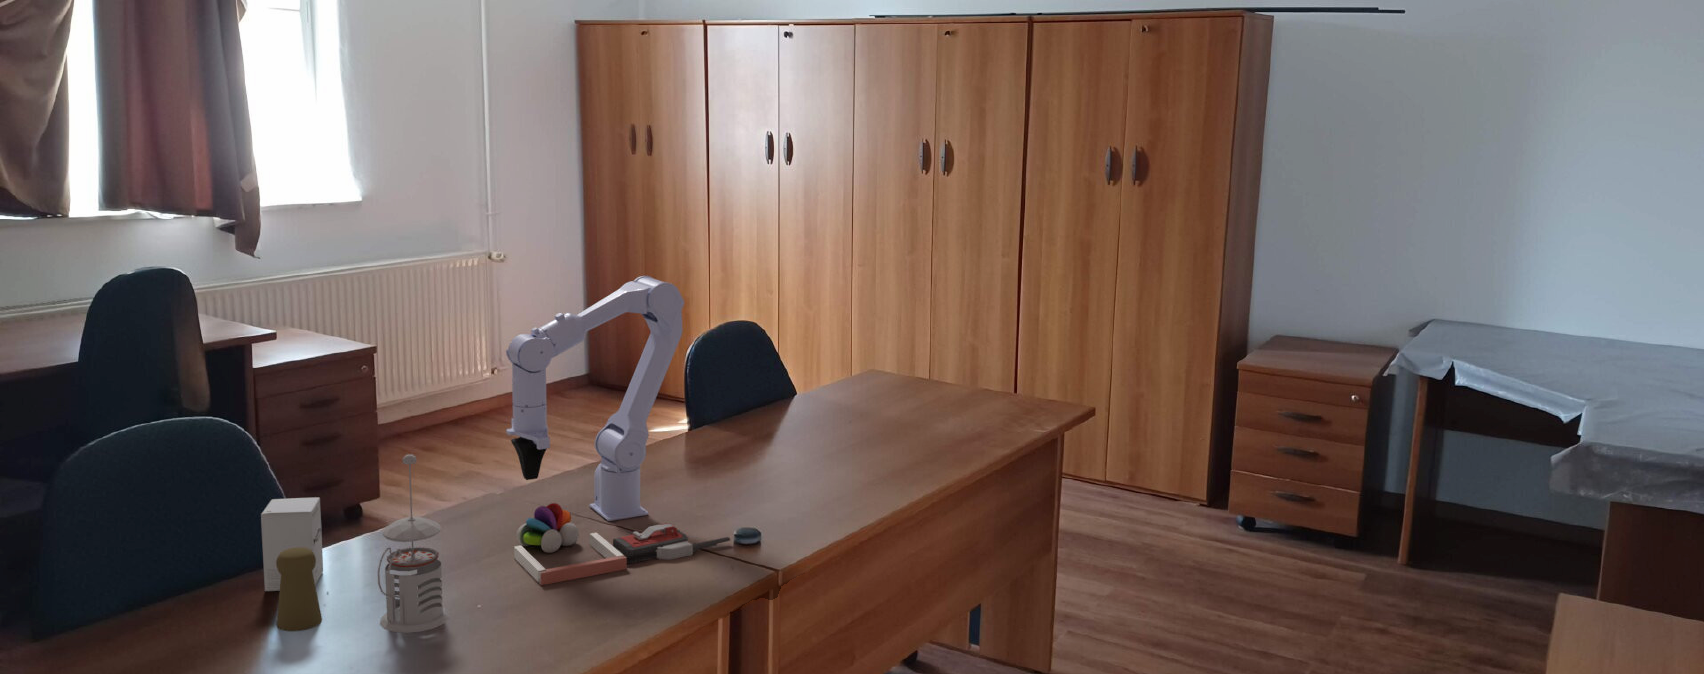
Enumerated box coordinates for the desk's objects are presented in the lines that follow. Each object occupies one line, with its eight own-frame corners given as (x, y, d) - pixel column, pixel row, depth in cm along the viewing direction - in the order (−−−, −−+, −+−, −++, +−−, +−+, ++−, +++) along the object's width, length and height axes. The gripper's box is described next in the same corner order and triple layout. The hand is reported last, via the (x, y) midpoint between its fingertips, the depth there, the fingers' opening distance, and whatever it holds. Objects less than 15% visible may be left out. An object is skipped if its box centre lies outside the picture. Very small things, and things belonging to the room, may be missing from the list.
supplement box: (315, 589, 191) (311, 511, 189) (263, 592, 190) (258, 513, 187) (325, 571, 198) (321, 496, 196) (275, 573, 197) (270, 497, 194)
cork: (293, 634, 176) (289, 561, 174) (267, 623, 179) (263, 551, 177) (331, 620, 181) (327, 548, 179) (305, 610, 184) (301, 539, 182)
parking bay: (514, 557, 207) (514, 546, 206) (596, 543, 215) (596, 532, 214) (541, 585, 196) (540, 573, 196) (626, 568, 204) (626, 557, 203)
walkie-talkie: (628, 571, 204) (733, 548, 216) (628, 546, 203) (733, 524, 215) (604, 554, 211) (707, 532, 222) (604, 530, 210) (707, 509, 222)
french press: (463, 610, 186) (459, 449, 181) (414, 642, 175) (408, 471, 170) (408, 600, 188) (402, 441, 184) (356, 630, 178) (348, 463, 173)
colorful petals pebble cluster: (586, 542, 215) (586, 502, 214) (544, 559, 207) (544, 517, 206) (551, 532, 219) (550, 493, 218) (509, 548, 211) (508, 507, 210)
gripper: (494, 396, 220) (495, 470, 223) (520, 415, 208) (521, 493, 211) (532, 392, 224) (533, 464, 227) (561, 411, 212) (561, 487, 215)
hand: (530, 478), depth 219 cm, fingers closed
